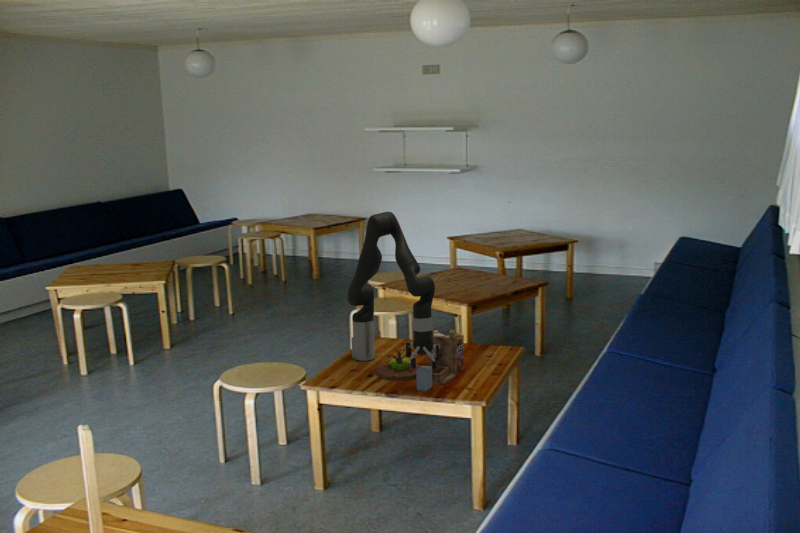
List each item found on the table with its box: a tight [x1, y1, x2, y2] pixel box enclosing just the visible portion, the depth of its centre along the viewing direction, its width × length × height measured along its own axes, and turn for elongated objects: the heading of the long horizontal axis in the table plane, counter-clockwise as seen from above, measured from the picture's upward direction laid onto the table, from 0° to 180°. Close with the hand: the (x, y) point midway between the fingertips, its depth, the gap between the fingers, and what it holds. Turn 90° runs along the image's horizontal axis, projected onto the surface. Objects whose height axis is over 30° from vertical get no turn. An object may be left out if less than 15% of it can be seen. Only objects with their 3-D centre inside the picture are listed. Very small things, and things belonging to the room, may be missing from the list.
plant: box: [374, 349, 422, 382], centre depth 312 cm, size 20×20×11 cm
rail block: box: [415, 365, 433, 392], centre depth 293 cm, size 4×7×8 cm, turn 155°
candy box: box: [445, 332, 465, 372], centre depth 314 cm, size 9×4×15 cm, turn 123°
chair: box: [415, 328, 458, 386], centre depth 303 cm, size 12×14×19 cm
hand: (424, 369), depth 292 cm, fingers open, 8 cm apart
